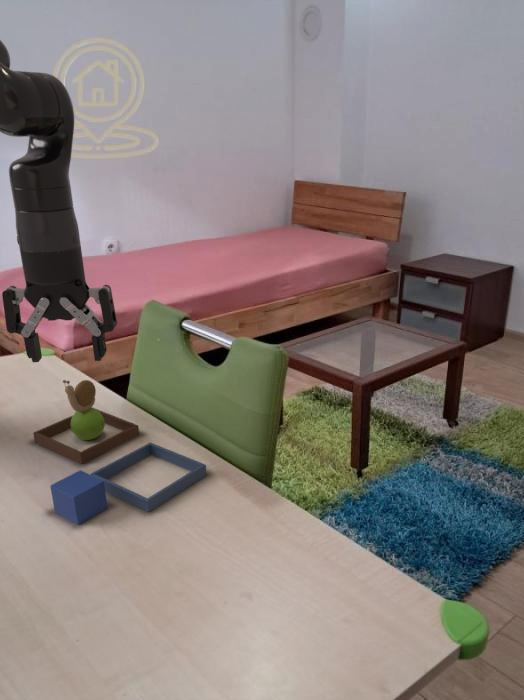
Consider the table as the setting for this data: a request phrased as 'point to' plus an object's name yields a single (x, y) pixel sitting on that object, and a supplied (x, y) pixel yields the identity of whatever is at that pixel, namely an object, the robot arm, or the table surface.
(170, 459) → the blue tray
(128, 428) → the brown tray
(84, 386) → the snail figurine
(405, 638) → the table surface
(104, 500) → the blue block
